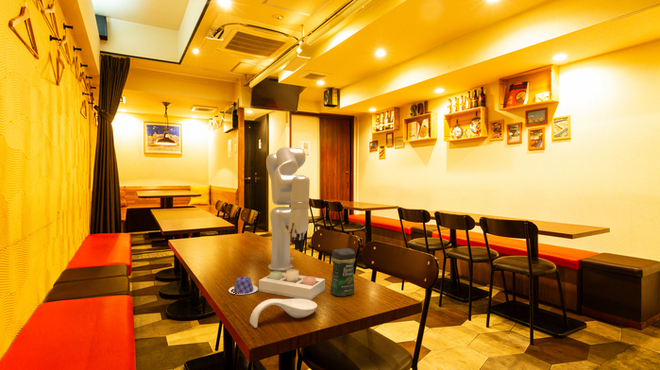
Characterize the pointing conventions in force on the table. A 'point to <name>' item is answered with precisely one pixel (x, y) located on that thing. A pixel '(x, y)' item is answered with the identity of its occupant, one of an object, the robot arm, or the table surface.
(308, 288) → the white compartment tray
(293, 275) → the cream button
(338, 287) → the coffee jar
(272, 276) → the sage button
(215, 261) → the table surface
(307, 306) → the spoon rest
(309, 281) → the pink round cup
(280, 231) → the robot arm
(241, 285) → the pudding
